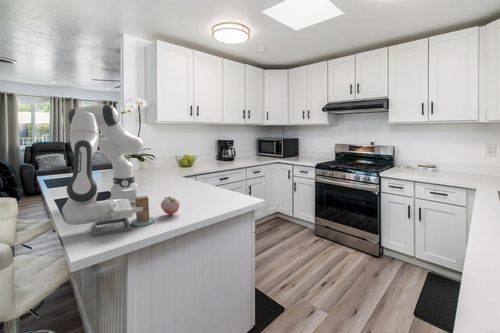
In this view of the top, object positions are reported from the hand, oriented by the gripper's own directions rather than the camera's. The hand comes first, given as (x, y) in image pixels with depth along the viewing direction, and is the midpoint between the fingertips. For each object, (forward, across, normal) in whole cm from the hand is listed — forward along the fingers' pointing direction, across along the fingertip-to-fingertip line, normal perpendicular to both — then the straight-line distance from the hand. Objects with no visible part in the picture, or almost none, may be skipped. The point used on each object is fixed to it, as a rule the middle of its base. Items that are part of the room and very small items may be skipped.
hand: (141, 205), depth 121 cm
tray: (-13, 0, +8) cm, 15 cm away
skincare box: (-4, +21, +8) cm, 23 cm away
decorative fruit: (+14, +5, +8) cm, 17 cm away
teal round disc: (0, 0, +8) cm, 8 cm away
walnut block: (0, 0, +7) cm, 7 cm away
